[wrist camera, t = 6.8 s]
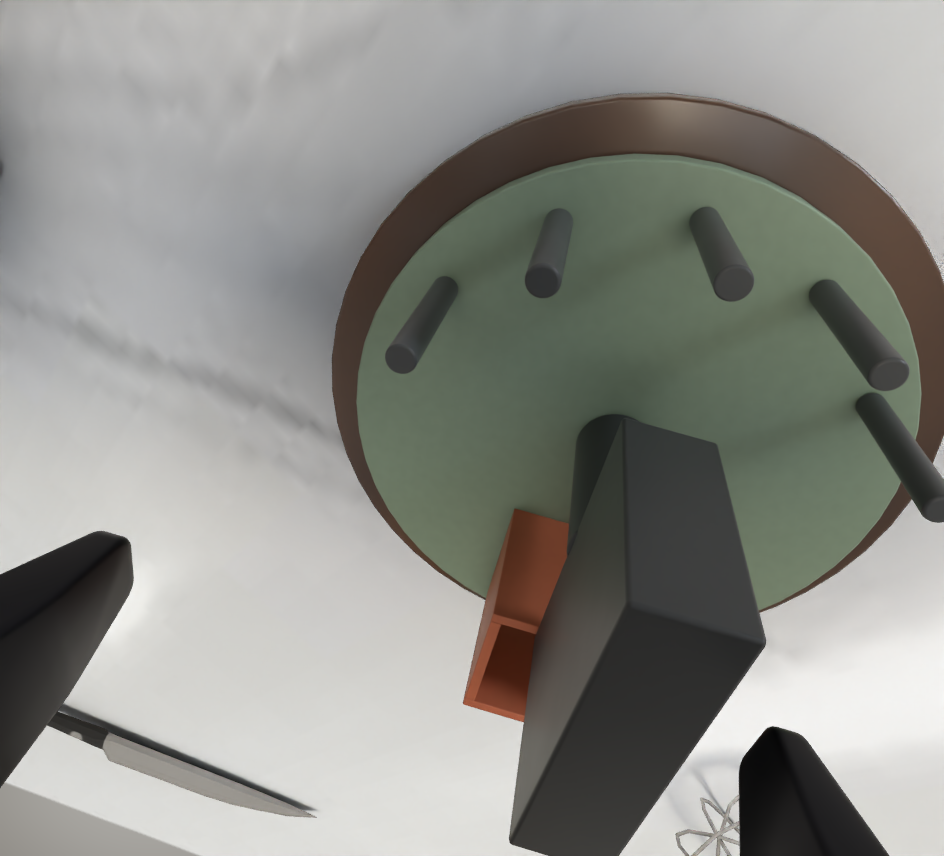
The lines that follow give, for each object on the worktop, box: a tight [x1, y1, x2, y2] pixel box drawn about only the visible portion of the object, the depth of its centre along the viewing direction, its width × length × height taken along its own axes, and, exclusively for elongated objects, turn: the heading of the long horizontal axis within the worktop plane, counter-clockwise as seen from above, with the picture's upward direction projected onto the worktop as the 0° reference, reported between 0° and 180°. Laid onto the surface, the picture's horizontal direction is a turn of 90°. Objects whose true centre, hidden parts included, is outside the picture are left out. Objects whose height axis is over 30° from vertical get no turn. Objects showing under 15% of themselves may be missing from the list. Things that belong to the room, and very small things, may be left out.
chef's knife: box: [47, 711, 317, 818], centre depth 37 cm, size 19×1×3 cm
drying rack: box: [356, 154, 944, 856], centre depth 15 cm, size 16×16×11 cm
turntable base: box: [332, 93, 944, 613], centre depth 21 cm, size 18×18×1 cm
